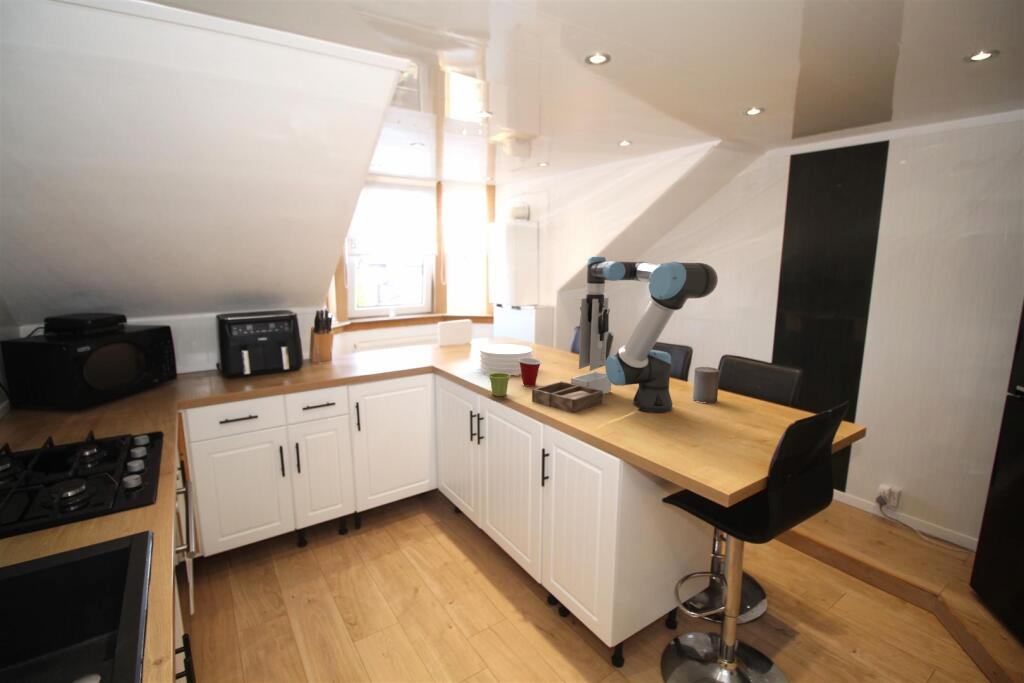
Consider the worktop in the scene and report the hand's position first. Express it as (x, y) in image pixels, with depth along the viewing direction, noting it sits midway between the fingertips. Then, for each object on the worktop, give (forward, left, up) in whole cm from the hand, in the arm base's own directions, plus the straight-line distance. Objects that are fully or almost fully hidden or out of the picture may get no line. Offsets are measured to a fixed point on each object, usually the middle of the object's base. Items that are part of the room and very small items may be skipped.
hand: (593, 347), depth 198 cm
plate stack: (+59, -7, -21) cm, 63 cm away
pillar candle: (-39, -27, -21) cm, 52 cm away
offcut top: (-6, +20, -18) cm, 28 cm away
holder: (0, 0, -21) cm, 21 cm away
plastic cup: (+29, +8, -21) cm, 37 cm away
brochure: (0, 0, -9) cm, 9 cm away
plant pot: (+27, +30, -21) cm, 46 cm away
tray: (-2, +20, -21) cm, 29 cm away
